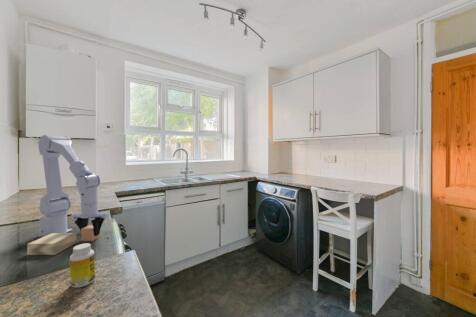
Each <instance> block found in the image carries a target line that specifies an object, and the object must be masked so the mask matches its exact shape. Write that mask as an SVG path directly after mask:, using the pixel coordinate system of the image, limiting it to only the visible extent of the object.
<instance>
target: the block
mask: <svg viewBox="0 0 476 317" xmlns="http://www.w3.org/2000/svg"><path fill="white" fill-rule="evenodd" d="M80 233H81V236H80V237H81V242H93V241H95V240H96V239H98V238H100V237H101V232H100V233H99V235H97V236H94V228H93V225H92V224H88V226H86V227H84V228H82V229H81V231H80Z"/></svg>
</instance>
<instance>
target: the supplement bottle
mask: <svg viewBox="0 0 476 317" xmlns="http://www.w3.org/2000/svg"><path fill="white" fill-rule="evenodd" d="M95 260H96V259H95V251H94V249H92V246H91V243H88V242H87V243H86V242H85V243H81V244H78V245H75V246H74V247H73V248H72V254H71V255H70V257H69V272H70V285H71V287H72V288H76V289H77V288H82V287H86V286H87V285H88V286H89V285H90V284H91V283H93V282H94V281H95V280H96V279H95V278H96V264H95V263H96V261H95Z"/></svg>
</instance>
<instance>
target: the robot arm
mask: <svg viewBox="0 0 476 317" xmlns="http://www.w3.org/2000/svg"><path fill="white" fill-rule="evenodd" d="M37 145H38V151H39V155H40V156H42V162H43V163H42V164H43V169H44V177H45V178H44V179H45V184H46V194H45V195H43V196H42V197H41V198H40V199H39V201H40V203H39V212H40V214H41V216H40V218H39V221H38V230H39V234H38V235H37V237H39V238H42V237H44V236H47V235H49V234H51V233H70V232H71V231H73V228H68V215H67V214H68V213H69V210H70V209H71V208H72V200H71V199H70V195H69V194H68V193H67V192H64V191H63V187H62V178H61V170H60V163H59V158H60V156H61V155H62V157H63V158H64V159H65V160H66V161H67V162H68V164H69V166H68V167H69V168H68V169H69V170H70V172H71V174H73V176H74V178H75V179H76V182H75V185H76V187H77V189H78V193H79V194H80V212H75V213H72V214H71V215H70V217H71V220H75V221H74V224H76V226H77V228H78V229H79V232H81V229H82V228H84V227H86V226H88V225H89V219H91V221H90V222H91V225H93V228H94V236H97V235H99V233H100V234H101V228H102V225H103V224H104V221H105V220H106V219H109V212H101V211H99V206H98V205H99V204H98V187H99V186H100V184H101V178H100V176H99V175H98V174H97V173H94V172H93V171H91V170H90V168H89V167H88V166H87V164H86V163H85V161H83V160H80V158H78V156H77V154H76V152H75V151H74V149H73V141H72V140H71V138H70V137H69V136H68V135H67V136H66V135H65V136H62V135H47V134H43V135H41V136H40V138H39V139H38V141H37Z"/></svg>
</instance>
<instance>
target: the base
mask: <svg viewBox="0 0 476 317" xmlns="http://www.w3.org/2000/svg"><path fill="white" fill-rule="evenodd" d="M76 244H77V232H67V233H51V234H49V235H47V236H44V237H39V238H36V240H32V241H30V242H28V243H26V249H27V251H26V252H27V256H43V255H44V256H47V255H48V256H54V255H56V254H58V253H60V252H62V251H64V250H66V249H67V248H69V247H72V246H73V245H76Z"/></svg>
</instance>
